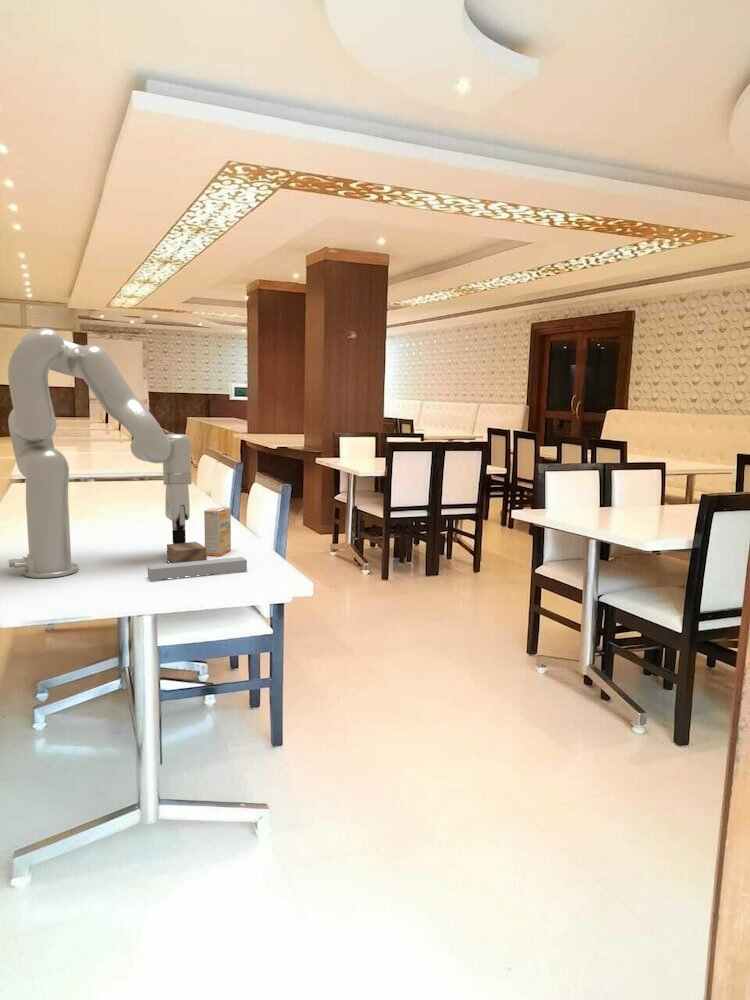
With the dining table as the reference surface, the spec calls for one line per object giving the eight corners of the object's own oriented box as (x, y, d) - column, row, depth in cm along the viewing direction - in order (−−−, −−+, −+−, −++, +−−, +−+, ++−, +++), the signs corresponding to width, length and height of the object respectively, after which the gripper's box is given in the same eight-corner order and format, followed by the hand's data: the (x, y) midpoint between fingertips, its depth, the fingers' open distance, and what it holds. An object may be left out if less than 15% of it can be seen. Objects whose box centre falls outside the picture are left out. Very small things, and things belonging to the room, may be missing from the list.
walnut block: (176, 569, 179) (176, 550, 178) (167, 562, 187) (166, 544, 186) (206, 566, 183) (206, 547, 183) (196, 559, 191) (195, 541, 190)
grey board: (150, 581, 166) (150, 569, 166) (147, 577, 170) (147, 565, 169) (246, 571, 177) (246, 560, 177) (242, 568, 181) (242, 556, 180)
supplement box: (220, 556, 193) (219, 510, 192) (204, 555, 194) (203, 510, 193) (231, 550, 201) (231, 506, 200) (216, 549, 202) (215, 505, 201)
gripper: (158, 476, 195) (160, 539, 197) (169, 482, 182) (171, 550, 184) (185, 475, 198) (186, 537, 201) (197, 481, 185) (199, 547, 188)
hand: (179, 543), depth 193 cm, fingers closed
